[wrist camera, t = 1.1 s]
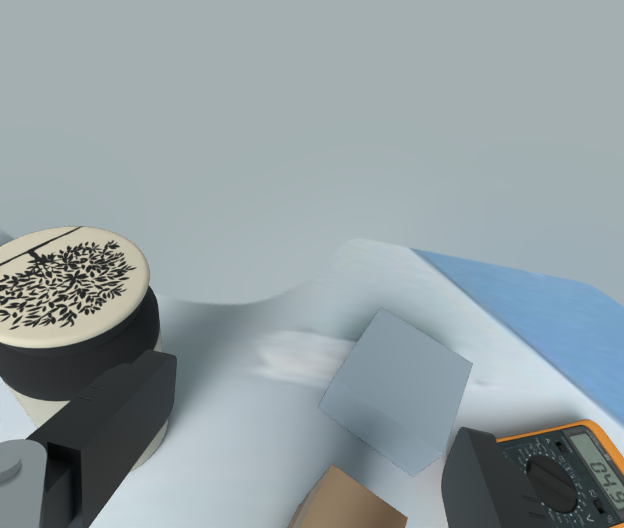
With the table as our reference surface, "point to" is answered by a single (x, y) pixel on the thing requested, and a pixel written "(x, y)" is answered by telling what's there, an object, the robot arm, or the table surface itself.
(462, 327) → the table surface
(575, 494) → the multimeter
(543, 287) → the table surface
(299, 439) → the table surface
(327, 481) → the walnut block
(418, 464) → the slate box
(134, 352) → the travel mug
